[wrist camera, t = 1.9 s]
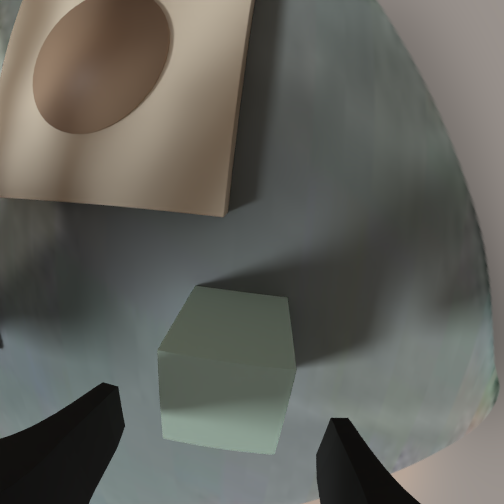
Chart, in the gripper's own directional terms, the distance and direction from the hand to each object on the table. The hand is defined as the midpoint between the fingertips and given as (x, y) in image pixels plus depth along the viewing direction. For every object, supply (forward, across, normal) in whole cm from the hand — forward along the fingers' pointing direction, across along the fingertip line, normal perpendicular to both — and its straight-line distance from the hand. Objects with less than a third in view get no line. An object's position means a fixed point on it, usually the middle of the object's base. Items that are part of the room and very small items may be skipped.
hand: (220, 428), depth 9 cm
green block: (+7, 0, 0) cm, 7 cm away
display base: (+7, +8, -13) cm, 17 cm away
